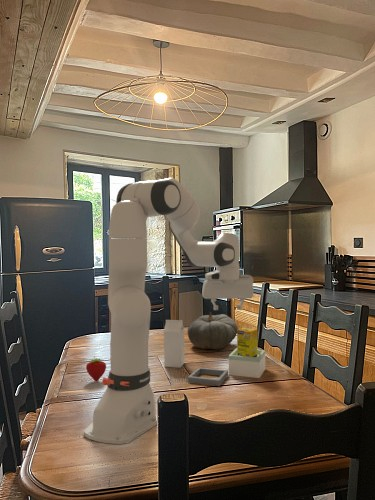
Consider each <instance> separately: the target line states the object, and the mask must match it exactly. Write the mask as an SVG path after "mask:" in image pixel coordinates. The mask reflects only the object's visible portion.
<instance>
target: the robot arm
mask: <svg viewBox="0 0 375 500" xmlns="http://www.w3.org/2000/svg"><path fill="white" fill-rule="evenodd" d="M115 200H116V203H115V204H114V205H113V206H112V209H111V212H110V218H109V224H108V225H109V226H108V227H109V229H108V283H107V284H108V286H107V287H108V291H107V292H108V293H107V294H108V295H107V305H108V306H107V307H108V309H109V311H110V342H109V351H110V352H109V354H110V370H109V372H108V377H103V378H102V380H101V384H102V385H103V386H107V387H106V388H105V391H104V392H103V394H102V396H101V397H100V400H99V401H98V402H97V405H96V406H95V408H94V409H93V417H92V422H90V424H89V425H87V427H86V428H85V429H84V431H83V436H84V437H85V438H87V439H89V440H91V441H94V442H95V441H96V442H99V443H105V444H113V445H114V444H115V445H117V444H118V445H119V444H120V445H122V444H129V443H130V442H132V441H133V440H135V439H136V438H138V437H140V436H141V435H142V434H145V432H147V431H148V430H151V428H153V427H155V426H157V425H158V424H157V416H158V415H157V410H156V409H157V408H156V399H155V392H154V391H153V389H152V386H151V385H150V383H151V370H150V368H149V338H150V336H149V335H150V328H151V327H150V326H151V311H152V310H151V309H152V305H151V300H150V298H149V296H148V295H147V294H146V292H145V288H146V287H145V286H146V275H147V268H148V231H147V221H148V218H152V217H153V218H154V217H158V216H166V218H167V220H168V227H169V229H170V233H171V234H172V236H173V237H174V239H175V241H176V242H177V244H178V247H180V248H181V250H182V253H183V256H184V258H185V260H186V262H187V264H188V265H189V266H190V267H192V268H200V267H203V268H204V267H208V268H213V267H214V268H216V270H213V271H210V272H207V273H205V274H204V277H205V280H204V281H203V284H202V290H201V296H202V297H203V298H204V299H205V300H210V302H211V303H212V305H213V311H219V305H217V304H216V302H217V301H216V300H218V299H219V300H220V299H221V300H223V299H224V300H225V299H229V300H230V299H239V301H240V302H239V303H238V304H236V310H237V311H242V310H243V309H242V307H243V304H244V303H245V299H253V297H254V288H253V285H254V276H252V275H250V274H240V263H239V261H240V255H241V254H240V252H241V249H240V240H239V237H238V235H236V234H235V233H229V232H222V233H220V234H218V235H219V236H218V238H216V239H214V240H213V241H200V240H196V239H194V237H193V235H192V234H191V232H190V230H192V229H193V228H194V227H195V225H197V223H198V221H199V219H200V216H201V209H200V206H199V204H198V203H197V201H196V200H195V198H194V196H193V195H192V194H191V193H190V191H188V189H187V188H186V187H185V186H184V185H183V184H182V183H181V182H179V180H177V179H176V178H173V177H168V178H164V179H157V180H156V179H155V180H152V179H151V180H141V181H136V182H134V183H133V182H132V183H128V184H125V185H123V186H122V187H121V188H120V189H119V191H118V192H117V195H116V199H115Z"/></svg>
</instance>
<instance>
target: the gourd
mask: <svg viewBox="0 0 375 500" xmlns="http://www.w3.org/2000/svg"><path fill="white" fill-rule="evenodd" d="M238 329H239V328H238V325H237V322H236V321H235V320H234V319H232V318H231V317H230V316H228V315H227V314H224V313H223V314H222V313H221V314H216V315H213V313H212V311H209V314H207V315H206V314H205V315H201V316H199V317H197V318H196V319H195V320H194V321H193V322H192V323H190V324H189V326H188V328H187V338H188V339H189V341H190V343H191V344H192V345H193V346H194V347H196V348H198V349H202V350H208V349H211V350H214V351H216V350H221V349H222V348H225V347H226V346H228V345H230V344H231V343H232V342H233V340H235V338H237V330H238Z"/></svg>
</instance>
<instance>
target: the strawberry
mask: <svg viewBox="0 0 375 500" xmlns="http://www.w3.org/2000/svg"><path fill="white" fill-rule="evenodd" d="M85 367H86V372H87V374H88V375H89V376H90V377H91V379H93V381H95V382H98V381H99V380H100V378H102V377H103V376H104V374H105V372H106V370H107V364H106V362H104V360H101V358H96V355H94V357H93V359H90V361H89V362H88V363H87V364H86V366H85Z"/></svg>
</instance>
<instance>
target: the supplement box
mask: <svg viewBox="0 0 375 500" xmlns="http://www.w3.org/2000/svg"><path fill="white" fill-rule="evenodd" d="M236 341H237V343H236V344H237V345H236V348H237V356H247V357H257V350H258V329H257V328H249V327H242V328H238V330H237V334H236Z"/></svg>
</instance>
